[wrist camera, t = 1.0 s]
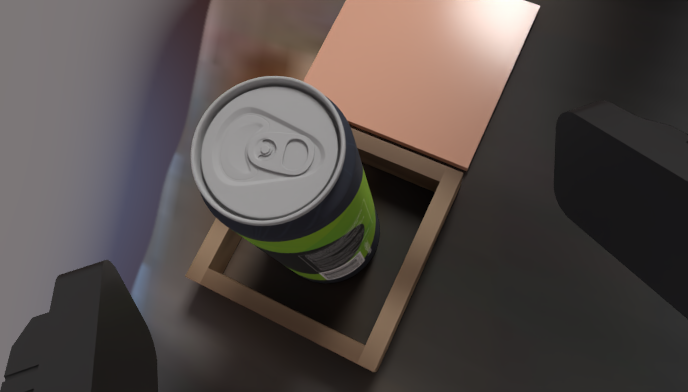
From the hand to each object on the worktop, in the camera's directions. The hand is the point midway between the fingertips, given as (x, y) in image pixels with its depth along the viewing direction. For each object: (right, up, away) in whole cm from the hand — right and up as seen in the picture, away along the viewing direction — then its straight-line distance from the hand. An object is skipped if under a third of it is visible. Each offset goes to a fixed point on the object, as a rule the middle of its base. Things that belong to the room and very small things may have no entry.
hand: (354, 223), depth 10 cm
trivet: (+5, +10, +27) cm, 29 cm away
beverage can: (-1, -2, +25) cm, 25 cm away
